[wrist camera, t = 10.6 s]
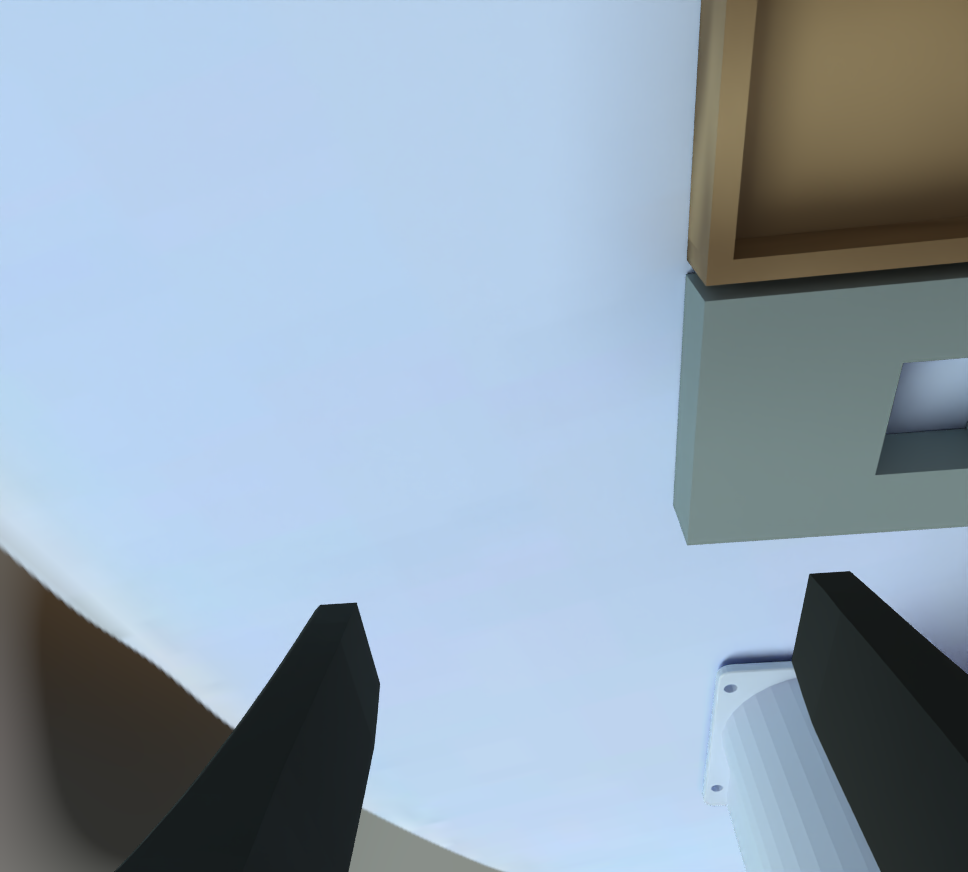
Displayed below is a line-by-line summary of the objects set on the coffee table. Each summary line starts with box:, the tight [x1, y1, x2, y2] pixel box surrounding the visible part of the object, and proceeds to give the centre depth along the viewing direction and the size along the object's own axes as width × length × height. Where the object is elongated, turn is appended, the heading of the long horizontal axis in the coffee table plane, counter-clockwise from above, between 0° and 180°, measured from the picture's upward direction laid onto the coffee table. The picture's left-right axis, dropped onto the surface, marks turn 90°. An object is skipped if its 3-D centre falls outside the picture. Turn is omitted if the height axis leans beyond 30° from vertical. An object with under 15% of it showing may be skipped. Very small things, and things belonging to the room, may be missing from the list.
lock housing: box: [673, 262, 968, 545], centre depth 19 cm, size 8×14×2 cm, turn 96°
